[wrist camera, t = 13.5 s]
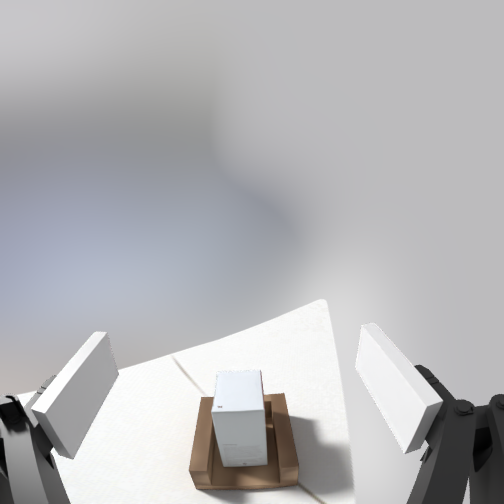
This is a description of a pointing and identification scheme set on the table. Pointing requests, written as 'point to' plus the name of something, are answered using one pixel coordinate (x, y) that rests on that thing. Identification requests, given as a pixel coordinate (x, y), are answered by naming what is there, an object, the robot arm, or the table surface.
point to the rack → (245, 477)
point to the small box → (240, 418)
